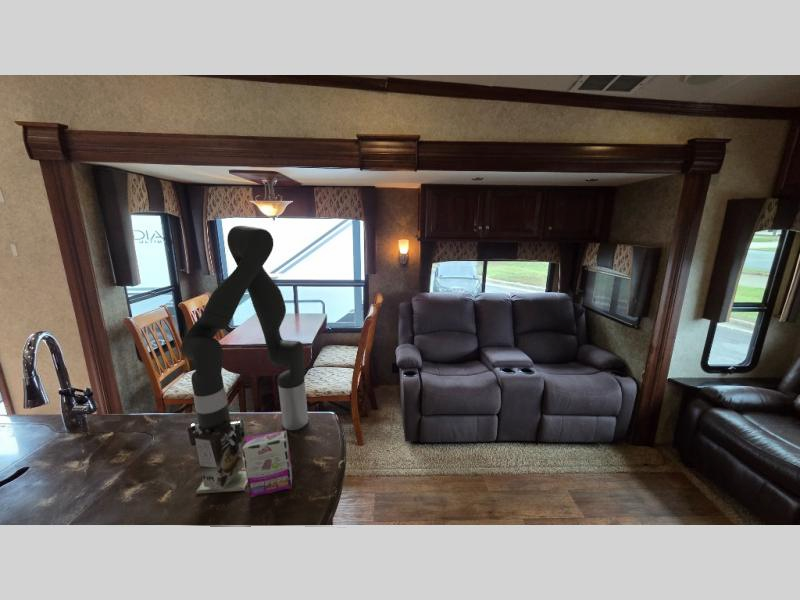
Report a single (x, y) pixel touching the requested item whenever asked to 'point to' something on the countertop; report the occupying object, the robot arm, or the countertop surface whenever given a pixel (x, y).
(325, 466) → the countertop surface
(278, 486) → the candy bar box
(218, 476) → the coffee box
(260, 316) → the robot arm
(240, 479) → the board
